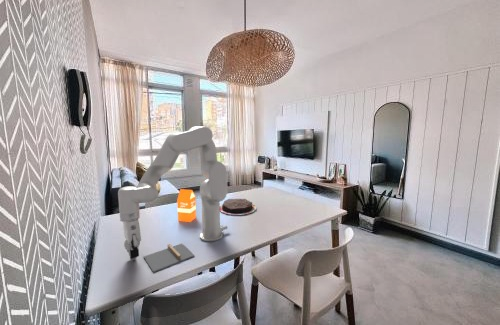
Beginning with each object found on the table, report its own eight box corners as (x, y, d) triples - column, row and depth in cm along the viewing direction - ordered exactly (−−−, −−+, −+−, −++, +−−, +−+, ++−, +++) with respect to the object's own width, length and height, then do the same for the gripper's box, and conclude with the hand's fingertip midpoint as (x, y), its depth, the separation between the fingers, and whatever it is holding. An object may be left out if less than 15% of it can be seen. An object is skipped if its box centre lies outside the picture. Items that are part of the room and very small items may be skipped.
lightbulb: (132, 265, 92) (130, 241, 91) (122, 262, 94) (120, 238, 93) (144, 257, 98) (142, 235, 96) (134, 255, 100) (132, 232, 98)
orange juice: (190, 222, 137) (189, 191, 134) (178, 220, 139) (176, 190, 136) (196, 217, 145) (195, 188, 142) (184, 216, 146) (182, 187, 144)
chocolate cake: (256, 216, 147) (256, 207, 146) (215, 216, 147) (215, 207, 146) (256, 203, 175) (256, 195, 174) (221, 203, 175) (221, 195, 174)
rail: (170, 248, 106) (169, 243, 106) (180, 259, 96) (180, 255, 96) (167, 248, 105) (167, 244, 105) (178, 260, 96) (178, 256, 95)
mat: (181, 244, 110) (181, 243, 109) (194, 256, 99) (194, 255, 99) (143, 257, 98) (143, 256, 98) (153, 272, 87) (153, 271, 87)
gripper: (144, 219, 89) (147, 259, 92) (134, 208, 102) (137, 243, 105) (124, 224, 84) (127, 266, 87) (116, 211, 97) (119, 249, 100)
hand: (133, 253), depth 96 cm, fingers closed on lightbulb, 5 cm apart
